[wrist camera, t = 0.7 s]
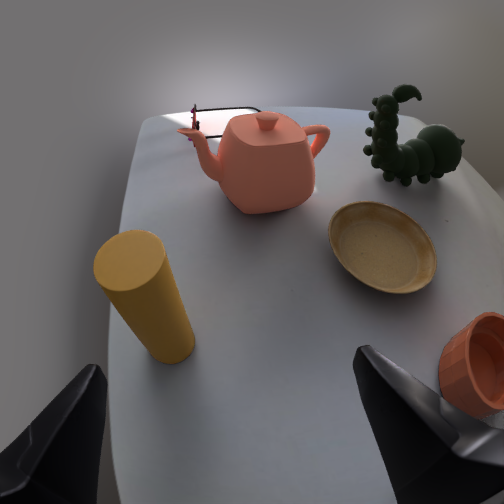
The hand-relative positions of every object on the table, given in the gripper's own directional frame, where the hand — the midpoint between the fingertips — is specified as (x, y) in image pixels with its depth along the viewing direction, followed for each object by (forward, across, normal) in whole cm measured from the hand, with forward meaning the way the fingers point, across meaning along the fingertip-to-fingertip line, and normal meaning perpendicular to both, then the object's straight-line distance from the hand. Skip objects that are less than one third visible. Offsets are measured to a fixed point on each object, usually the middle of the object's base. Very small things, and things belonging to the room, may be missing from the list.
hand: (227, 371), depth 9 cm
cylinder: (+14, +6, +12) cm, 20 cm away
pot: (+5, -26, +16) cm, 31 cm away
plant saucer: (+22, -19, +9) cm, 31 cm away
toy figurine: (+38, -35, +2) cm, 52 cm away
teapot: (+34, -5, +4) cm, 35 cm away
